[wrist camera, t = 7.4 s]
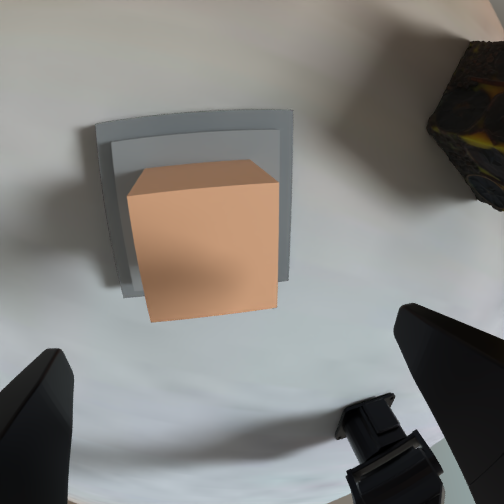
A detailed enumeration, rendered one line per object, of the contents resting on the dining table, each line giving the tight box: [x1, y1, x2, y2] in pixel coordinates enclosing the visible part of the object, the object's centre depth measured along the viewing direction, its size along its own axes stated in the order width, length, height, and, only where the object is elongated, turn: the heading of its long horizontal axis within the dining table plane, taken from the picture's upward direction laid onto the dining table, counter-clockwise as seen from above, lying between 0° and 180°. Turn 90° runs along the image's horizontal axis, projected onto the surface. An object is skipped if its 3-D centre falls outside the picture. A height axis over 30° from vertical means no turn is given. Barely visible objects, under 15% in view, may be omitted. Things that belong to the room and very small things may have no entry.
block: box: [127, 159, 279, 322], centre depth 13 cm, size 5×5×5 cm
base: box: [95, 109, 293, 298], centre depth 17 cm, size 10×10×2 cm
